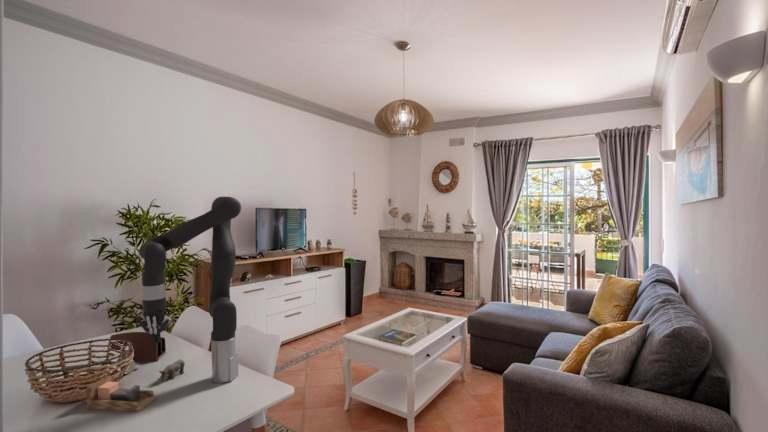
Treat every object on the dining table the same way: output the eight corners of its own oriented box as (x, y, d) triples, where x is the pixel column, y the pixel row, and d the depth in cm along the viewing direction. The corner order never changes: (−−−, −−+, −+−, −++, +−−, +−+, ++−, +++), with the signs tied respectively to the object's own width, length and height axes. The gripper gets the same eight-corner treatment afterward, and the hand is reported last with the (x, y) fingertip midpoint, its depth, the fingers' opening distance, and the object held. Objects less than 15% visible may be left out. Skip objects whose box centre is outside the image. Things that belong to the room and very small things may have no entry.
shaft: (140, 397, 147) (139, 385, 147) (131, 403, 143) (130, 391, 142) (119, 395, 148) (118, 384, 148) (109, 402, 144) (109, 389, 143)
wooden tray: (156, 398, 149) (155, 378, 148) (138, 411, 140) (137, 390, 139) (107, 395, 151) (106, 375, 151) (87, 408, 142) (86, 387, 142)
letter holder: (157, 361, 181) (156, 331, 180) (110, 364, 178) (108, 334, 177) (166, 353, 191) (165, 324, 190) (121, 355, 188) (120, 326, 187)
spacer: (119, 396, 148) (118, 382, 148) (109, 402, 144) (108, 388, 143) (108, 395, 149) (107, 381, 148) (98, 402, 144) (97, 387, 144)
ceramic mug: (118, 378, 165) (117, 360, 164) (107, 374, 168) (106, 356, 168) (144, 369, 174) (143, 351, 174) (133, 365, 178) (132, 348, 177)
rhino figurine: (153, 385, 159) (152, 370, 159) (180, 370, 172) (179, 356, 172) (161, 386, 158) (161, 371, 158) (188, 371, 171) (187, 357, 171)
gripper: (129, 298, 142) (131, 346, 143) (164, 299, 140) (165, 347, 141) (144, 293, 149) (146, 338, 150) (177, 294, 147) (179, 340, 149)
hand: (155, 343), depth 146 cm, fingers closed
